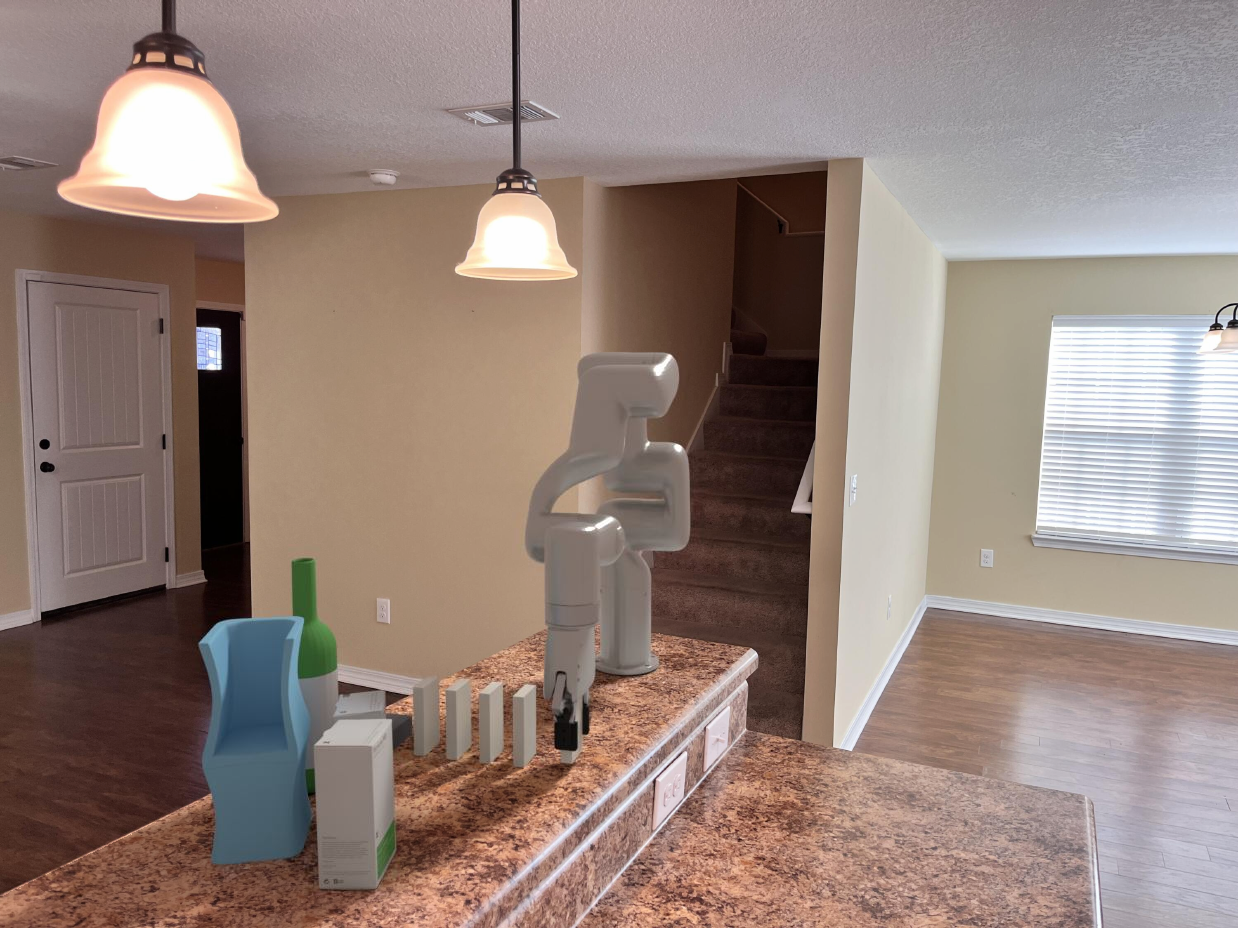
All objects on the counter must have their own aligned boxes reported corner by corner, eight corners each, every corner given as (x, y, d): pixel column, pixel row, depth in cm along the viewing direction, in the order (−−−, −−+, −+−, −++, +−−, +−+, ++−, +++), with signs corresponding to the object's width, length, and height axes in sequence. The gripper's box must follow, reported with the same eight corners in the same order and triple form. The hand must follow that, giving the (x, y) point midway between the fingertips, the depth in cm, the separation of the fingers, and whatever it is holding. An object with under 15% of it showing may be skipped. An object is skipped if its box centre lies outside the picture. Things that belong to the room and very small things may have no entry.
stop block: (388, 732, 133) (388, 712, 133) (412, 734, 132) (412, 715, 132) (360, 753, 125) (360, 733, 125) (386, 756, 124) (385, 735, 124)
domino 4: (513, 766, 121) (512, 696, 120) (525, 751, 126) (525, 684, 125) (524, 767, 121) (523, 697, 120) (536, 752, 126) (535, 685, 125)
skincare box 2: (376, 891, 91) (373, 747, 90) (313, 890, 91) (309, 746, 90) (398, 849, 100) (395, 716, 98) (340, 848, 100) (336, 715, 98)
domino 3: (479, 762, 122) (478, 692, 122) (493, 748, 127) (492, 681, 126) (490, 763, 122) (489, 693, 121) (503, 749, 127) (502, 682, 126)
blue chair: (206, 866, 96) (197, 643, 94) (227, 822, 105) (219, 619, 103) (301, 856, 98) (294, 638, 96) (313, 814, 108) (307, 615, 105)
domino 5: (560, 762, 119) (560, 691, 119) (571, 747, 124) (571, 679, 123) (572, 763, 119) (572, 692, 118) (582, 748, 124) (582, 680, 123)
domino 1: (414, 754, 125) (413, 686, 124) (430, 741, 130) (428, 675, 129) (424, 756, 124) (423, 687, 124) (439, 742, 129) (438, 676, 128)
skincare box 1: (388, 834, 103) (385, 711, 102) (334, 839, 102) (331, 715, 100) (390, 801, 111) (388, 687, 110) (340, 806, 110) (337, 690, 108)
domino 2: (446, 758, 124) (445, 689, 123) (461, 744, 128) (460, 678, 128) (457, 759, 123) (456, 690, 122) (471, 745, 128) (470, 679, 127)
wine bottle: (337, 793, 113) (331, 564, 110) (273, 799, 111) (265, 567, 109) (343, 767, 121) (338, 553, 118) (284, 772, 119) (276, 555, 116)
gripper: (564, 596, 129) (564, 716, 131) (524, 627, 113) (525, 763, 114) (614, 599, 127) (613, 721, 129) (580, 631, 111) (580, 770, 112)
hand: (572, 739), depth 121 cm, fingers closed on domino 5, 4 cm apart
